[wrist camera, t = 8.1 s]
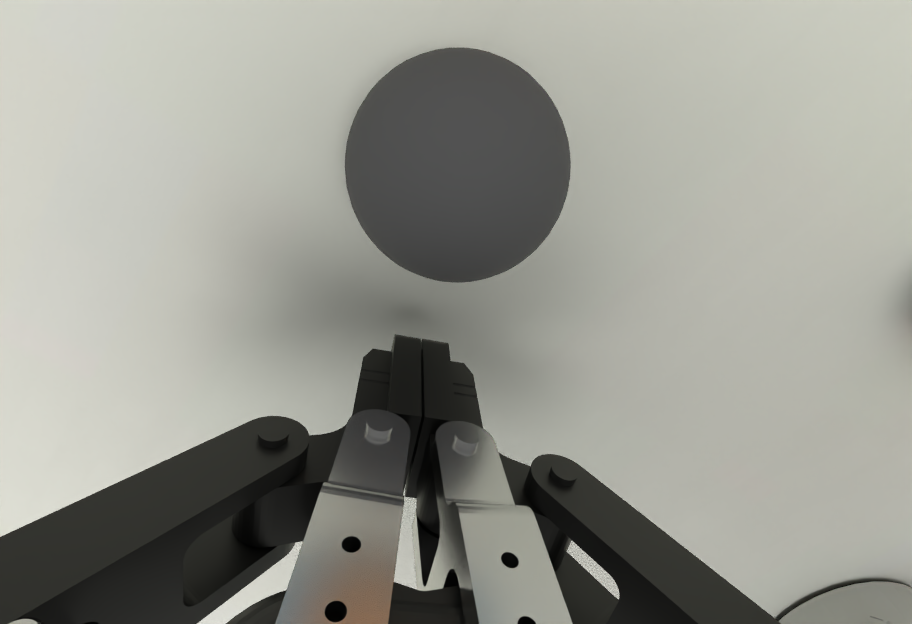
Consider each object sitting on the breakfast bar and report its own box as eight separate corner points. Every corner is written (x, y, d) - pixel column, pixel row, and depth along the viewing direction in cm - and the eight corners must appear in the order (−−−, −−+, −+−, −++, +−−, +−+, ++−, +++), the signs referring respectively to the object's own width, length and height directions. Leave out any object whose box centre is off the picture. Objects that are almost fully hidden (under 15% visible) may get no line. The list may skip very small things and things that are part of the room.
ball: (611, 290, 12) (583, 142, 15) (528, 104, 8) (513, -47, 11) (413, 341, 14) (425, 203, 17) (270, 215, 10) (318, 64, 13)
